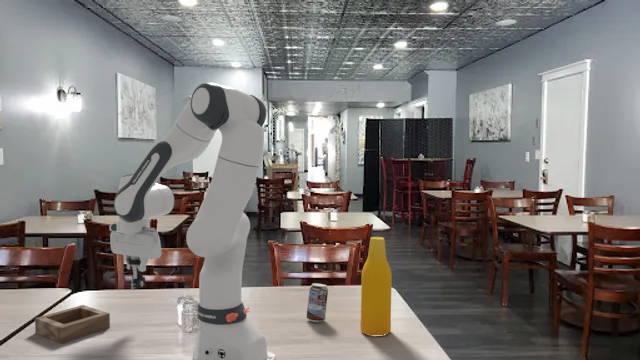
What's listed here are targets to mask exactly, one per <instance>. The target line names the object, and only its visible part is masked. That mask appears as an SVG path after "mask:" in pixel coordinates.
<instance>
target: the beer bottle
mask: <svg viewBox="0 0 640 360" xmlns="http://www.w3.org/2000/svg"><path fill="white" fill-rule="evenodd" d="M369 238H370V240H369V246H368V255H367V259H366V260H365V263H364V265H363V267H362V271H361V279H360V280H361V287H360V288H361V290H360V291H361V292H360V322H359V323H360V325H359V326H360V327H359V328H360V331H362V332H364V333H366V334H369V335H384V334H387V333H389V332H391V329H392V328H391V327H392V326H391V325H392V323H391V322H392V321H391V320H392V319H391V317H392V284H393V283H392V279H393V277H392V276H393V275H392V271H391V267H390V264H389V262H388V260H387V255H386V241H385V237H381V236H371V237H369ZM362 332H361V333H362ZM389 334H390V333H389Z"/></svg>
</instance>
